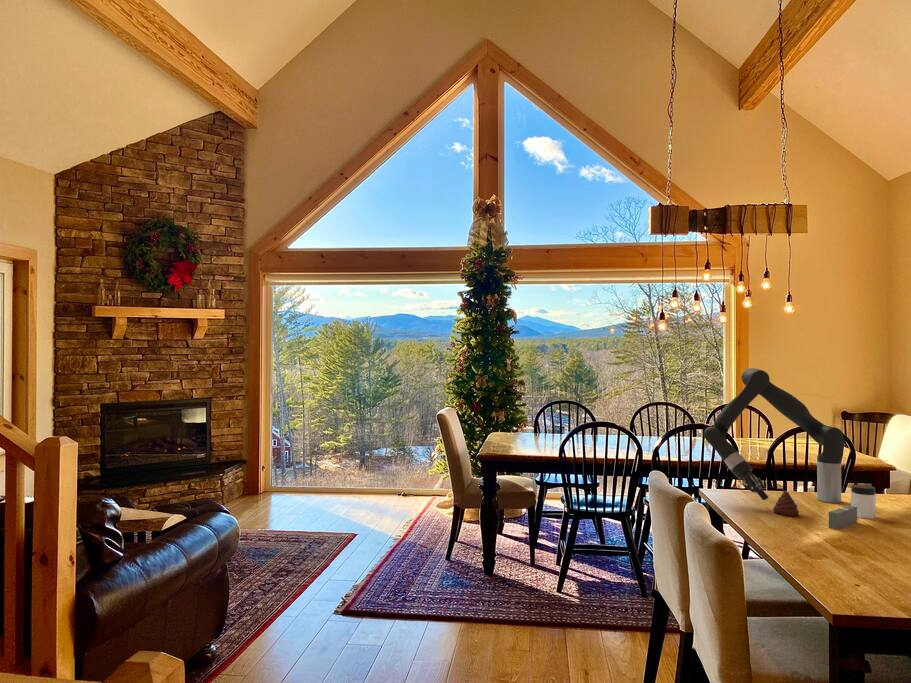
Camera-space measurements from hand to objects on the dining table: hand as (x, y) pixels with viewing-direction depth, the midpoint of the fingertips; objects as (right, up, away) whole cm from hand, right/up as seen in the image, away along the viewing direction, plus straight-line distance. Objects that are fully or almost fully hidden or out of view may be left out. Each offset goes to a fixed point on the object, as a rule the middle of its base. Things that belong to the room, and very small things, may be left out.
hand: (766, 498), depth 262 cm
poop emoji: (+5, -5, -7) cm, 10 cm away
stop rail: (+18, -4, -23) cm, 30 cm away
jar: (+35, -5, -9) cm, 36 cm away
